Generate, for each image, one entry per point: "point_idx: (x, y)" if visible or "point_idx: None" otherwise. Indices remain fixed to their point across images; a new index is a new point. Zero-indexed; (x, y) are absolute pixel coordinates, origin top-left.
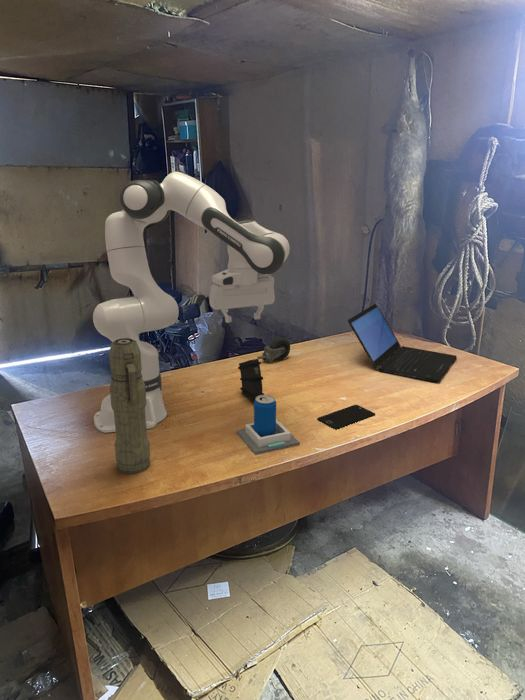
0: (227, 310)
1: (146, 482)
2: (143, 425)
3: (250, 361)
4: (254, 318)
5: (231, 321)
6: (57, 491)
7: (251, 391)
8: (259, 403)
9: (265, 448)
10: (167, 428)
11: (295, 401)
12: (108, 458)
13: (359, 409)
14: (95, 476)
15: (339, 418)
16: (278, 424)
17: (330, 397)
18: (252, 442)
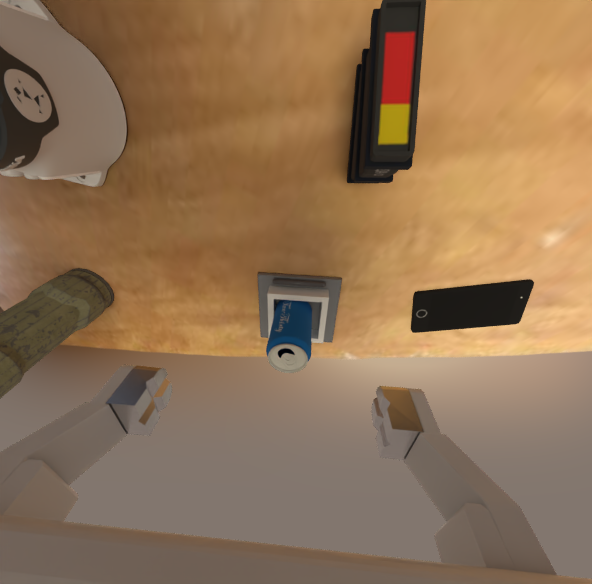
0: (59, 516)
1: (114, 328)
2: (52, 349)
3: (372, 154)
4: (377, 394)
5: (167, 400)
6: (5, 302)
7: (353, 156)
8: (271, 362)
9: None
10: (133, 199)
11: (446, 202)
12: (45, 257)
13: (514, 300)
14: None
15: (448, 311)
16: (321, 316)
17: (534, 220)
18: (267, 316)
